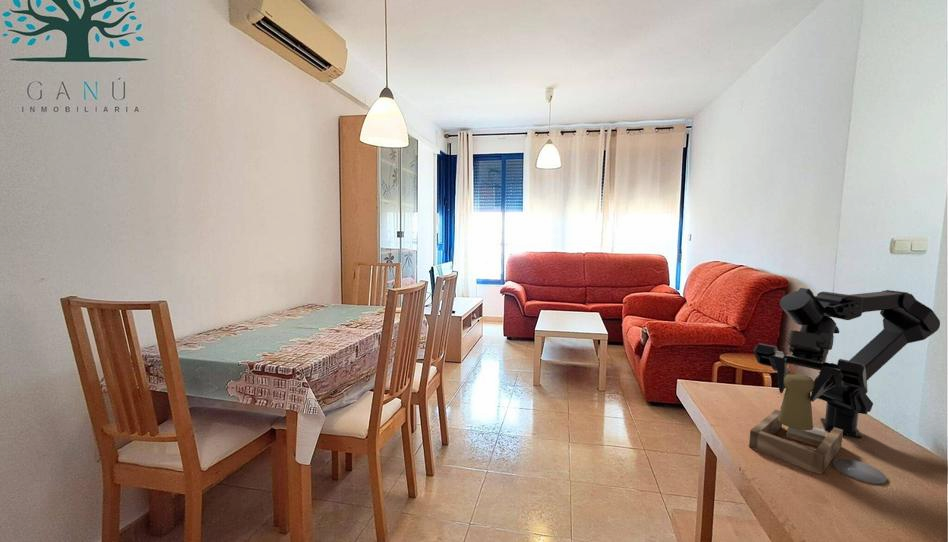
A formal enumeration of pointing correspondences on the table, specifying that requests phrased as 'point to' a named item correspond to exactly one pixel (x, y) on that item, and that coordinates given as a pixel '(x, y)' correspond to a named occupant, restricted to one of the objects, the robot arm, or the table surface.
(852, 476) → the slate pad
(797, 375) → the olive knobbed peg
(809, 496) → the table surface
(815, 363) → the robot arm
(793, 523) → the table surface
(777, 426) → the brown wooden rectangular frame
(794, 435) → the light grey rectangular block
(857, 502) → the table surface
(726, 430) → the table surface
